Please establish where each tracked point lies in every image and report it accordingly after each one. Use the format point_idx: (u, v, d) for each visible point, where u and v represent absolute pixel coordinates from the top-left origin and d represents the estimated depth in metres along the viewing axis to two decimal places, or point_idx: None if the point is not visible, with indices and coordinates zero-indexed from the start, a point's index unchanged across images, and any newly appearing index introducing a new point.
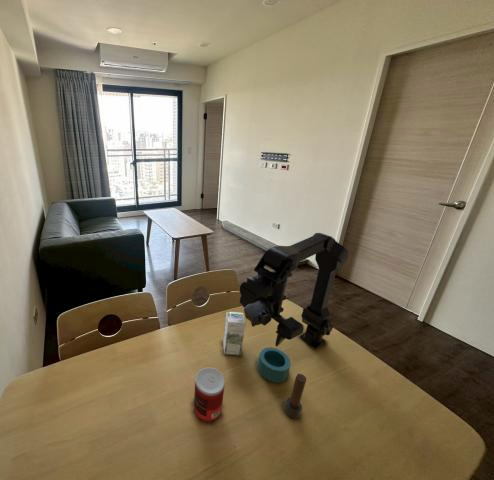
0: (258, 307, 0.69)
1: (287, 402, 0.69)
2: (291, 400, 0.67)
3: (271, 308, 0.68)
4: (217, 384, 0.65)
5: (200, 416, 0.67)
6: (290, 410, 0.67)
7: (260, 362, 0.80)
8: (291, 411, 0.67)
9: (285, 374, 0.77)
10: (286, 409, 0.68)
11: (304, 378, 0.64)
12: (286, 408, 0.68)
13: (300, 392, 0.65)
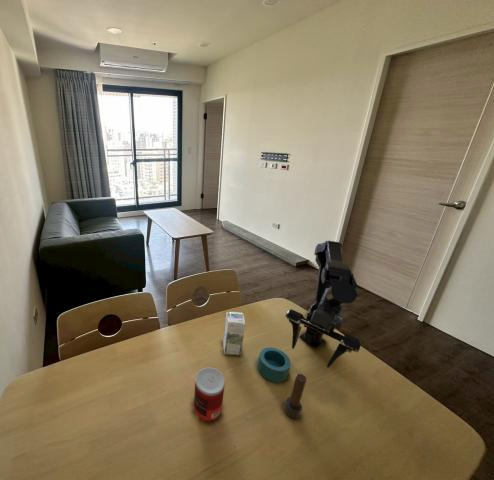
0: (326, 313, 0.68)
1: (287, 402, 0.69)
2: (291, 400, 0.67)
3: None
4: (217, 384, 0.65)
5: (200, 416, 0.67)
6: (290, 410, 0.67)
7: (260, 362, 0.80)
8: (291, 411, 0.67)
9: (285, 374, 0.77)
10: (286, 409, 0.68)
11: (304, 378, 0.64)
12: (286, 408, 0.68)
13: (300, 392, 0.65)
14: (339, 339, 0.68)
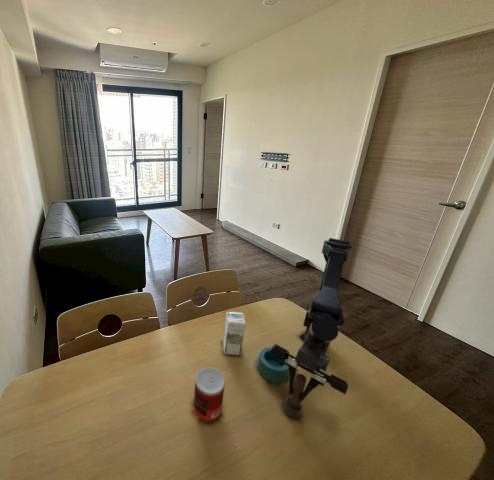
0: (311, 352, 0.65)
1: (287, 402, 0.69)
2: (291, 400, 0.67)
3: None
4: (217, 384, 0.65)
5: (200, 416, 0.67)
6: (290, 410, 0.67)
7: (260, 362, 0.80)
8: (291, 411, 0.67)
9: (285, 374, 0.77)
10: (286, 409, 0.68)
11: (304, 378, 0.64)
12: (286, 408, 0.68)
13: (300, 392, 0.65)
14: (312, 372, 0.67)
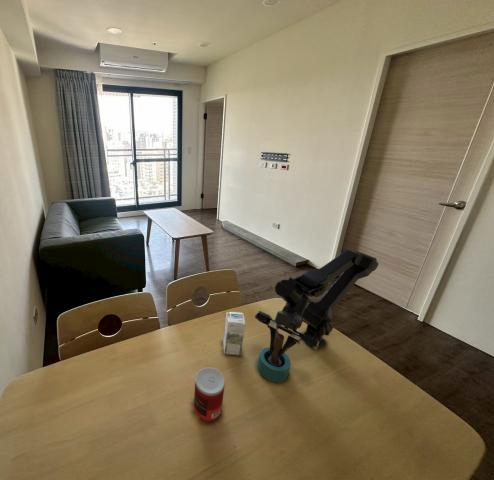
0: (288, 314, 0.76)
1: (269, 359, 0.80)
2: (272, 357, 0.79)
3: None
4: (217, 384, 0.65)
5: (200, 416, 0.67)
6: None
7: (260, 362, 0.80)
8: None
9: (285, 374, 0.77)
10: None
11: (282, 336, 0.76)
12: None
13: (279, 349, 0.76)
14: (289, 332, 0.78)
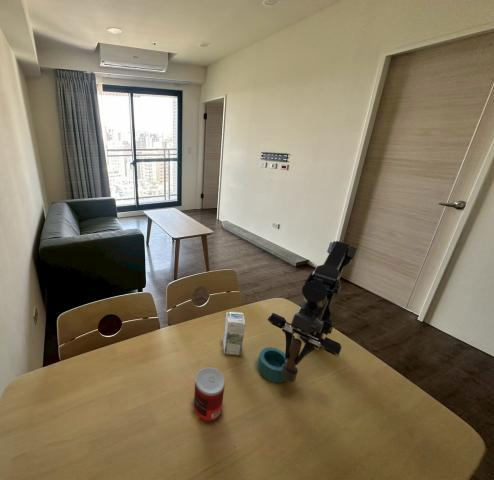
0: (307, 317, 0.68)
1: (284, 367, 0.72)
2: (287, 364, 0.71)
3: None
4: (217, 384, 0.65)
5: (200, 416, 0.67)
6: (287, 373, 0.70)
7: (260, 362, 0.80)
8: (287, 375, 0.70)
9: None
10: (283, 373, 0.72)
11: (300, 342, 0.68)
12: (283, 372, 0.72)
13: (296, 355, 0.68)
14: (307, 337, 0.70)
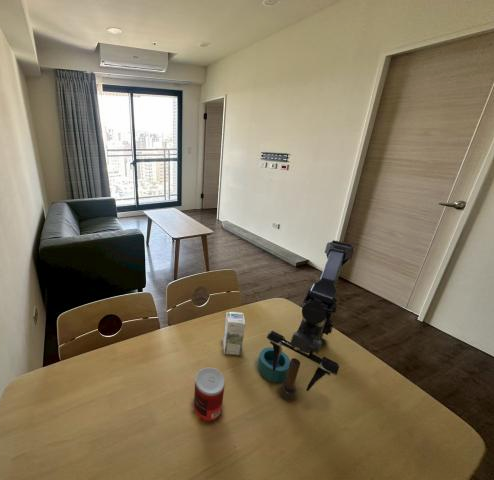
0: (305, 336, 0.69)
1: (282, 385, 0.73)
2: (286, 383, 0.72)
3: None
4: (217, 384, 0.65)
5: (200, 416, 0.67)
6: (285, 392, 0.72)
7: (260, 362, 0.80)
8: (286, 394, 0.72)
9: (285, 374, 0.77)
10: (281, 392, 0.73)
11: (298, 362, 0.69)
12: (281, 391, 0.73)
13: (294, 375, 0.70)
14: (318, 362, 0.69)
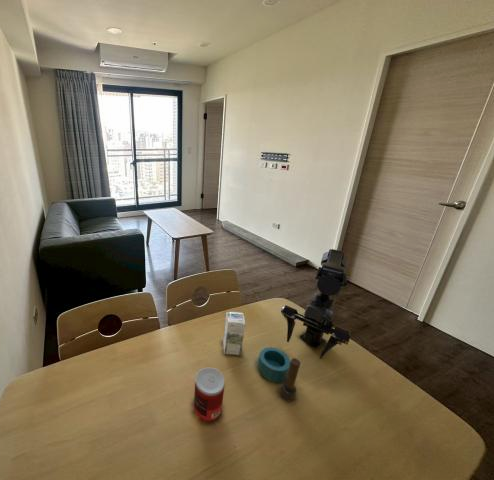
0: (318, 308, 0.73)
1: (282, 385, 0.73)
2: (286, 383, 0.72)
3: None
4: (217, 384, 0.65)
5: (200, 416, 0.67)
6: (285, 392, 0.72)
7: (260, 362, 0.80)
8: (286, 394, 0.72)
9: (285, 374, 0.77)
10: (281, 392, 0.73)
11: (298, 362, 0.69)
12: (281, 391, 0.73)
13: (294, 375, 0.70)
14: (330, 332, 0.73)
